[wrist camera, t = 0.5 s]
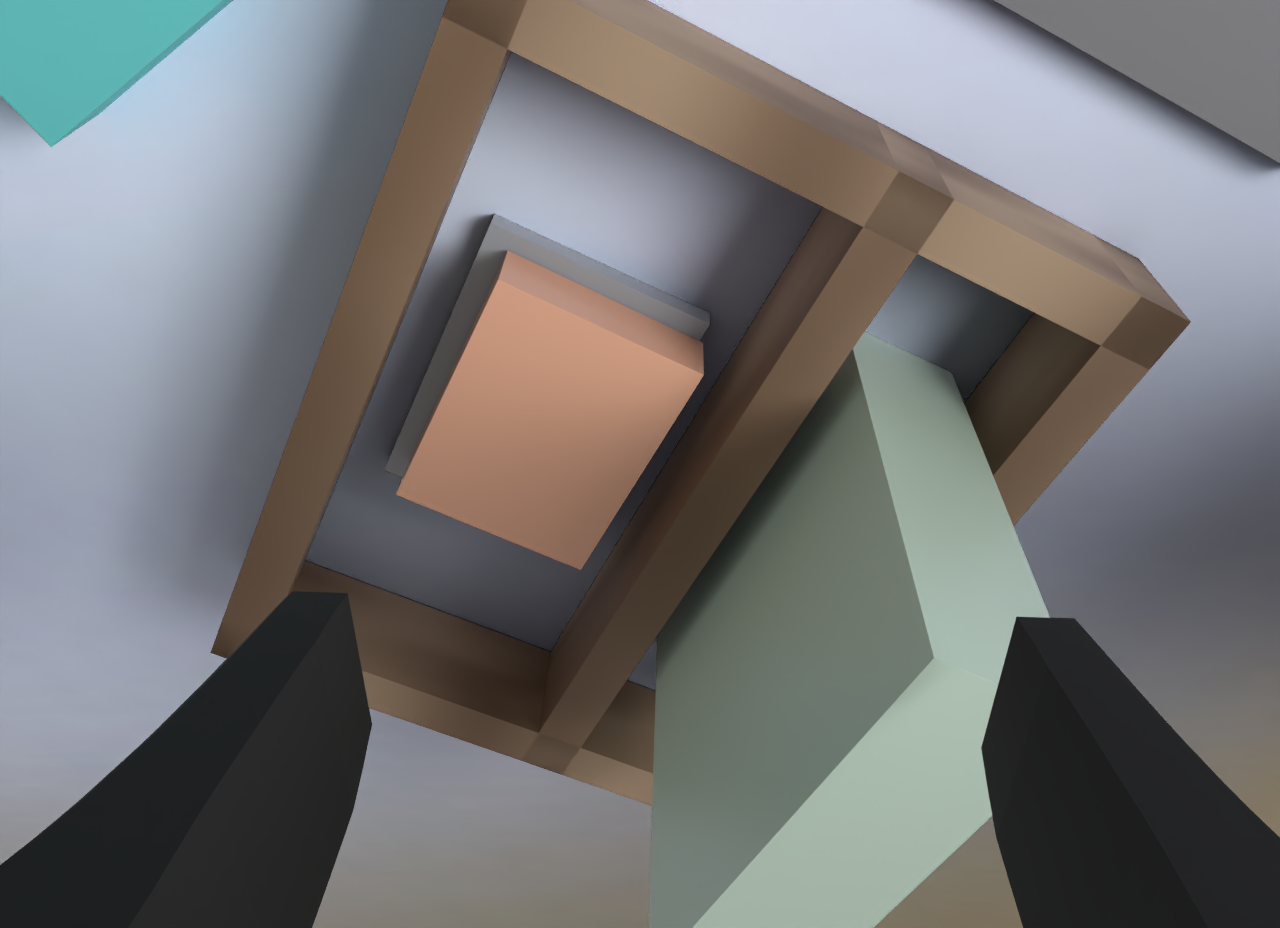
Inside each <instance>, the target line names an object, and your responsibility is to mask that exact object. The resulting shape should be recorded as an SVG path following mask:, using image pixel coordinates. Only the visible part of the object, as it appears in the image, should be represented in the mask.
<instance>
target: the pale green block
mask: <svg viewBox="0 0 1280 928" xmlns="http://www.w3.org/2000/svg"><path fill="white" fill-rule="evenodd" d="M1016 617H1043V618H1050V616H1049V613H1048V611H1047V609H1046V606H1045V604H1044V601H1043V599H1042V596H1041V594H1040V591H1039V589H1038V586H1037V584H1036V581H1035V579H1034V576H1033V574H1032V571H1031V569H1030V566H1029V564H1028V561H1027V559H1026V556H1025V554H1024V551H1023V549H1022V546H1021V544H1020V541H1019V539H1018V536H1017V534H1016V531H1015V529H1014V526H1013V524H1012V522H1011V519H1010V517H1009V514H1008V512H1007V509H1006V507H1005V504H1004V502H1003V499H1002V497H1001V494H1000V492H999V489H998V487H997V484H996V482H995V479H994V477H993V474H992V472H991V469H990V467H989V464H988V462H987V459H986V457H985V454H984V452H983V449H982V447H981V444H980V442H979V440H978V437H977V435H976V432H975V430H974V427H973V425H972V422H971V420H970V417H969V415H968V412H967V410H966V407H965V405H964V402H963V400H962V397H961V395H960V392H959V390H958V387H957V385H956V382H955V380H954V377H953V375H952V373H951V372H949V371H947V370H945V369H943V368H941V367H939V366H937V365H935V364H932V363H930V362H928V361H926V360H924V359H922V358H920V357H918V356H916V355H914V354H911V353H909V352H907V351H905V350H903V349H901V348H899V347H897V346H895V345H893V344H890V343H888V342H886V341H884V340H882V339H880V338H878V337H876V336H874V335H871V334H869V333H867V332H865V331H864V333H863V334H862V336H861V337H860V339H859V340H858V342H857V343H856V345H855V346H854V348H853V349H852V350H851V352H850V353H849V355H848V356H847V358H846V359H845V361H844V362H843V364H842V365H841V367H840V368H839V370H838V371H837V372H836V374H835V375H834V377H833V378H832V380H831V381H830V383H829V384H828V386H827V387H826V389H825V390H824V392H823V393H822V394H821V396H820V397H819V399H818V400H817V402H816V403H815V405H814V406H813V408H812V409H811V411H810V412H809V414H808V415H807V416H806V418H805V419H804V421H803V422H802V424H801V425H800V427H799V428H798V430H797V431H796V433H795V434H794V436H793V437H792V438H791V440H790V441H789V443H788V444H787V446H786V447H785V449H784V450H783V452H782V453H781V455H780V456H779V458H778V459H777V460H776V462H775V463H774V465H773V466H772V468H771V469H770V471H769V472H768V474H767V475H766V477H765V478H764V480H763V481H762V482H761V484H760V485H759V487H758V488H757V490H756V491H755V493H754V494H753V496H752V497H751V499H750V500H749V502H748V503H747V504H746V506H745V507H744V509H743V510H742V512H741V513H740V515H739V516H738V518H737V519H736V521H735V522H734V524H733V525H732V526H731V528H730V529H729V531H728V532H727V534H726V535H725V537H724V538H723V540H722V541H721V543H720V544H719V546H718V547H717V548H716V550H715V551H714V553H713V554H712V556H711V557H710V559H709V560H708V562H707V563H706V565H705V566H704V568H703V569H702V571H701V572H700V573H699V575H698V576H697V578H696V579H695V581H694V582H693V584H692V585H691V587H690V588H689V590H688V591H687V593H686V594H685V595H684V597H683V598H682V600H681V601H680V603H679V604H678V606H677V607H676V609H675V610H674V612H673V613H672V615H671V616H670V617H669V619H668V620H667V622H666V623H665V625H664V626H663V628H662V629H661V631H660V632H659V634H658V635H657V665H656V698H655V731H654V765H653V798H652V831H651V865H650V898H649V928H873V927H875V926H876V925H877V924H878V923H879V922H880V921H881V920H882V919H883V918H884V917H885V916H886V915H887V914H888V913H889V912H890V911H892V910H893V909H894V908H895V907H896V906H897V905H898V904H899V903H900V902H901V901H902V900H903V899H904V898H905V897H906V896H907V895H909V894H910V893H911V892H912V891H913V890H914V889H915V888H916V887H917V886H918V885H919V884H920V883H921V882H922V881H923V880H924V879H926V878H927V877H928V876H929V875H930V874H931V873H932V872H933V871H934V870H935V869H936V868H937V867H938V866H939V865H940V864H941V863H942V862H944V861H945V860H946V859H947V858H948V857H949V856H950V855H951V854H952V853H953V852H954V851H955V850H956V849H957V848H958V847H959V846H961V845H962V844H963V843H964V842H965V841H966V840H967V839H968V838H969V837H970V836H971V835H972V834H973V833H974V832H975V831H976V830H978V829H979V828H980V827H981V826H982V825H983V824H984V823H985V822H986V821H987V820H988V819H989V818H990V817H991V816H992V811H991V805H990V800H989V794H988V788H987V782H986V775H985V769H984V763H983V757H982V750H981V746H982V743H983V739H984V735H985V732H986V728H987V724H988V720H989V717H990V713H991V709H992V706H993V702H994V698H995V695H996V691H997V687H998V683H999V680H1000V676H1001V672H1002V669H1003V665H1004V661H1005V657H1006V654H1007V650H1008V646H1009V643H1010V639H1011V635H1012V631H1013V628H1014V624H1015V620H1016Z"/></svg>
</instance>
